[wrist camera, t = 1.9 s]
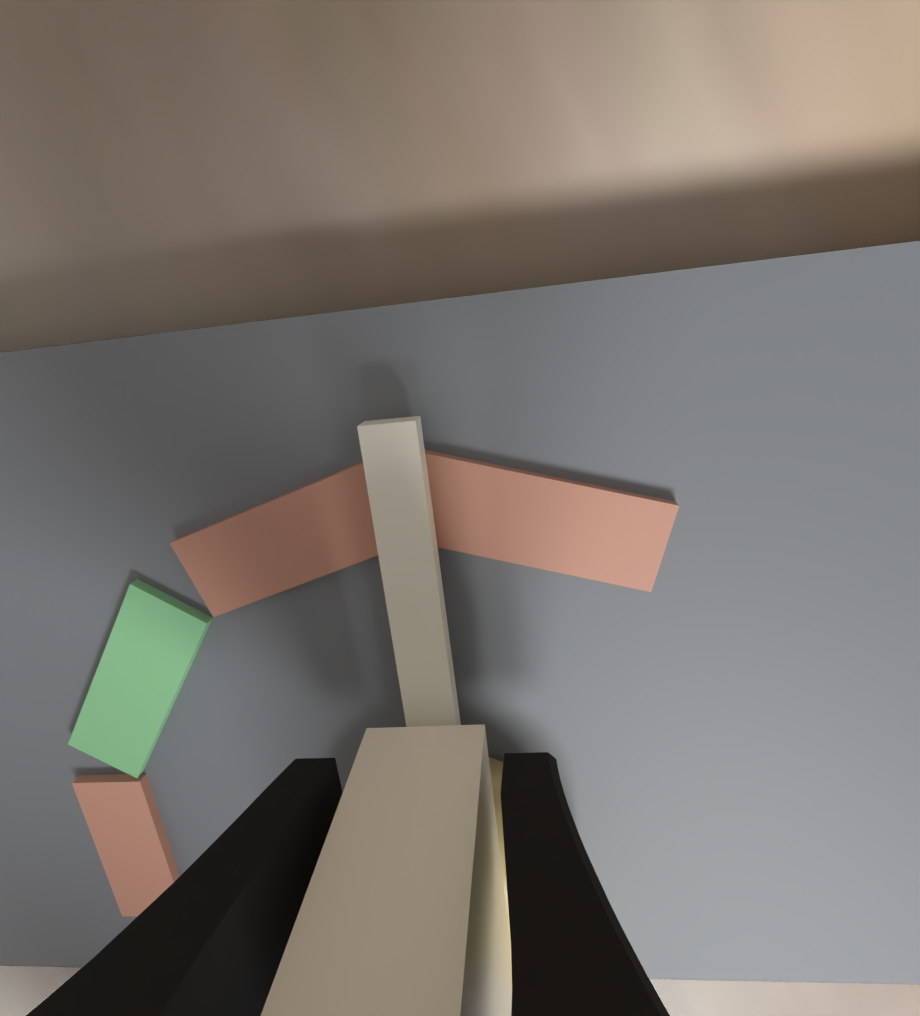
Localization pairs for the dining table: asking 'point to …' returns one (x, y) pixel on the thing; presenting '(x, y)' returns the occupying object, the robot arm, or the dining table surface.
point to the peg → (407, 807)
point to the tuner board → (491, 595)
